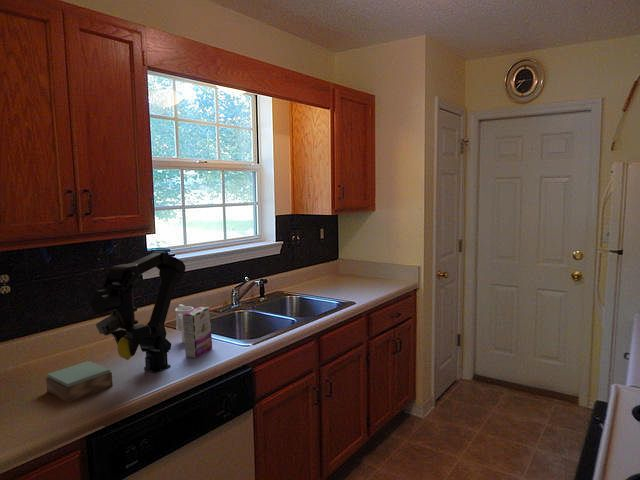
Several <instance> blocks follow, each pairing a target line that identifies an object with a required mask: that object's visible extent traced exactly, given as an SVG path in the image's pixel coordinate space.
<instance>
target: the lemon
mask: <svg viewBox="0 0 640 480" xmlns="http://www.w3.org/2000/svg"><path fill="white" fill-rule="evenodd" d="M126 336H127V335H126ZM117 354H118V356H119V357H120V358H122V359H125V360H126V361H129V360H130V359H131V358H133V357H134V356H135V355H133V356H131V355H130V350H129V345H128V341H127V340H126V339H125V338H124V337H123V338H121V339H120V341H119V342H118V345H117Z"/></svg>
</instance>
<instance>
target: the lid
mask: <svg viewBox="0 0 640 480" xmlns="http://www.w3.org/2000/svg"><path fill="white" fill-rule="evenodd" d="M110 372H111V369H110V368H107V367H105V366H102V365H100V364H97V363H95V362H93V361H90V360H87V361H84V362H80V363H79V364H75V365H72V366H71V365H70V366H68V367H65V368H62V369H59V370H56V371H52V372H49V373H47V375H46V376H47V378H50V379H52V380H54V381H56V382H58V383H60V384H63V385H65V386H67V387H70V386H73V385H76V384H79V383H82V382H85V381H87V380H90V379H93V378H96V377H99V376H102V375H105V374H107V373H110Z"/></svg>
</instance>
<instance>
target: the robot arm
mask: <svg viewBox="0 0 640 480" xmlns="http://www.w3.org/2000/svg"><path fill="white" fill-rule="evenodd" d="M154 268H156V269H157V270H159V271H158V276H159V280H160V285H159V289H158V291H157V294H156V299H155V302H154V304H153V309H152V311H151V315H150V317H149V318H150V319H149V321H148V322H147V323H146V324H143V323H140V324H139V321H138V320H137V319H136V315H135V312H138V307H135V301H134V300H135V298H134V290H137V289H138V285H135V282H136V281H138V279H139V278H140V276H141V275H143V274H145V273H146V272H148V271H150V270H152V269H154ZM185 272H186V264H185V263H184V261H182V260H181V259H180V258H179V259H178V258H177V257H175V256H173V255H171V254H169V253H168V252H166V251H161V250H160V251H156V250H155V251H152V253H150V254H148V255H146V256H144V257H142V258H139V259H137V260H135V261H133V262H130V263H123V264H118V265H113V266H111V267H110V268H109V271H108V273H107V276H106V277H105V280H104V282H103V285H102V287H101V289H99V290H96V291H95V295H93V297H92V298H91V301H90V307H91V309H92V311H93V312H94V313H96V314H98V315H102V314H104V313H108V312H110V315H108V316H107V317H105V318H103V319H102V320H100V321H99V322H97V323H96V324H95V326H96V328H97V330H98V332H99V334H101V335H103V336H109V335H111V336H113V338H114V340H115V342H116V345H117V346H118V342H119V341H120V339H121V338H123V337H124V338H125V339H126V340H127V341H128V345H129V350H130V355H131V356H132V357H134V356H135V355H136V352H137V350H138V348H139V347H140V351H141V352H143V353H145V357H144V359H145V361H144V362H145V366H144V367H143V369H144V370H146V371H150V372H152V373H158V372H161V371H163V370H166V369H168V368H170V367H171V364H168V361H169V360H168V353H169V351H171V350H172V343H171V342H170V341H169V340H168V339H167V338H166V337H167V330H166V327H165V322H166V319H167V316H168V312H169V309H170V305H171V303H172V298H173V295H174V291H175V289H176V286H177V284H178V283H179V282H180V281H182V279H183V276H184V275H185ZM126 335H127V336H126ZM133 355H134V356H133Z"/></svg>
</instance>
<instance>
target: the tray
mask: <svg viewBox="0 0 640 480" xmlns="http://www.w3.org/2000/svg"><path fill="white" fill-rule="evenodd" d="M112 373H113V372H112V371H110V373H107V374H105V375H102V376H99V377H96V378H93V379H90V380H87V381H85V382H82V383H79V384H76V385H73V386H70V387H67V386H65V385H63V384H60V383H58V382H56V381H54V380H52V379H50V378H48V377H46V378H45V384H46V392H47V393H48V394H50V395H52V396H54V397H56V398H58V399H59V400H61V401H63V402H65V403H67V404H69V403H71V402H74V401H77V400H79V399H82V398H85V397H87V396H89V395H93V394H96V393H98V392H101V391H103V390H106V389H108V388H112V387H114V385H113V384H114V383H113V374H112Z"/></svg>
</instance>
